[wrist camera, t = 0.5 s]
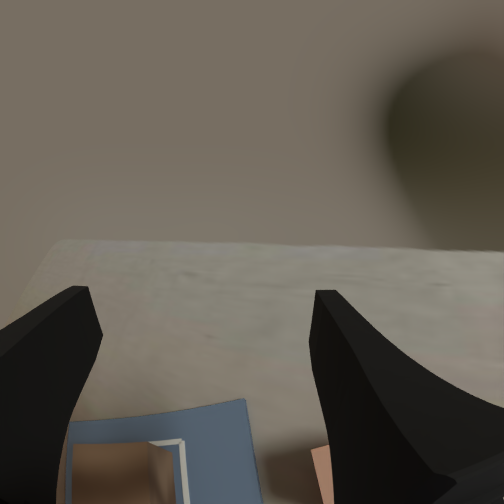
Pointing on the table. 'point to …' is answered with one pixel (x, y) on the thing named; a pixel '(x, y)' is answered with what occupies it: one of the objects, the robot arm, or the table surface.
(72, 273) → the table surface
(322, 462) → the terracotta block
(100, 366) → the table surface
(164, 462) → the walnut base block
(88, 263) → the table surface
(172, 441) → the blueprint board
